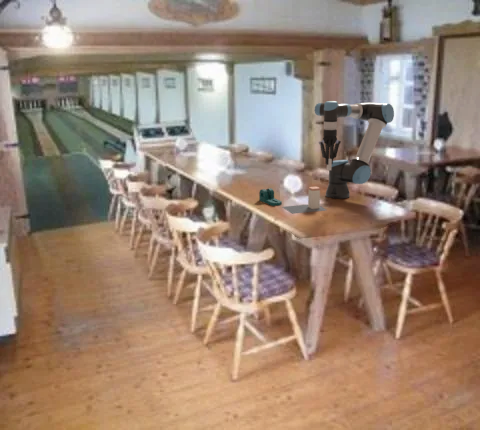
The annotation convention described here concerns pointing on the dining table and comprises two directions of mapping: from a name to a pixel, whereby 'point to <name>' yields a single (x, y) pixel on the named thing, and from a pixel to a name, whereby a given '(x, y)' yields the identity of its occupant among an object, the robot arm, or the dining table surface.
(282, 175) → the dining table surface
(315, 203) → the cream block
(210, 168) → the dining table surface
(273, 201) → the bracket
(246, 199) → the dining table surface
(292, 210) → the slate mat
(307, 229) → the dining table surface
